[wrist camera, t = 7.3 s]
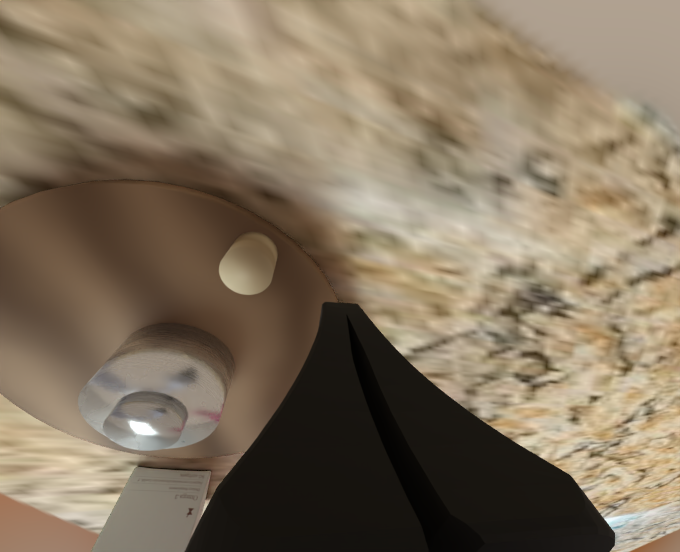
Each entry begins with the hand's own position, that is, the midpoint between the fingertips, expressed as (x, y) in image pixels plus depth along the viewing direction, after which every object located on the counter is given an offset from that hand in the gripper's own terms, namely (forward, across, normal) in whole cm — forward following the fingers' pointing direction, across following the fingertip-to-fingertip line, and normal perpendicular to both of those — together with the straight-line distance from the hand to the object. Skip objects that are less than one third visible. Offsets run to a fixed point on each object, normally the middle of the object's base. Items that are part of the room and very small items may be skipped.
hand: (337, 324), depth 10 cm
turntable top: (+8, +9, +9) cm, 15 cm away
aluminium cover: (+6, +9, +9) cm, 14 cm away
